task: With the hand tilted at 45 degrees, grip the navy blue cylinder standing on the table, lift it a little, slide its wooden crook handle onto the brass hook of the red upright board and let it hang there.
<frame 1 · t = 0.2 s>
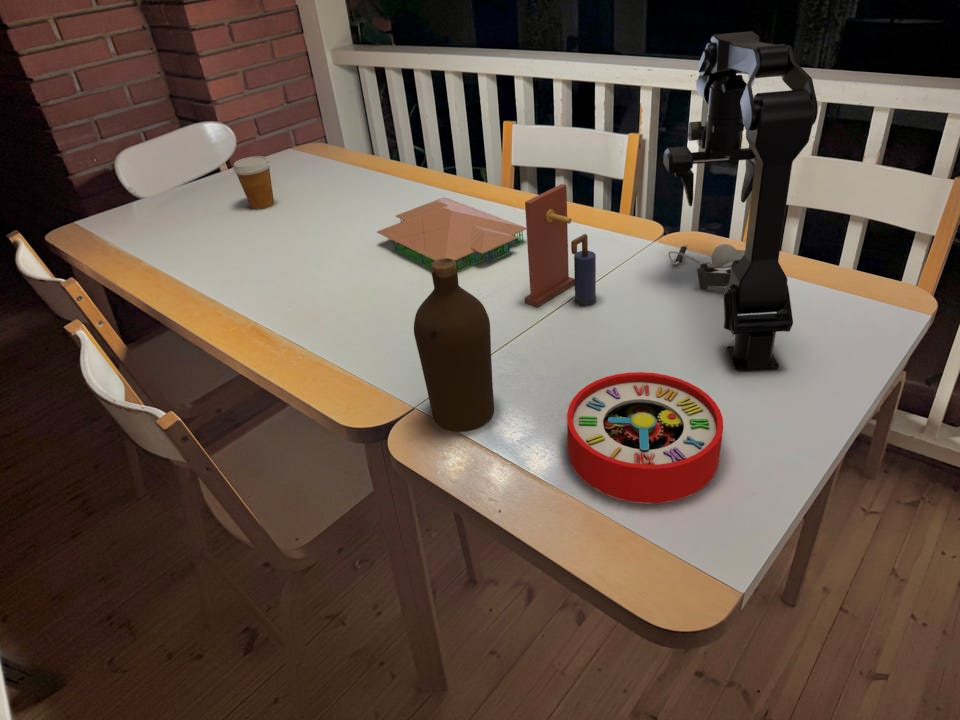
hand: (716, 203, 124), 15 cm above the table, tool pointing down, fingers open, 9 cm apart
glass of beer: (262, 205, 189), on the table
house: (449, 243, 157), on the table
toy clock: (641, 450, 94), on the table
olive oil: (463, 413, 105), on the table
clip-on lamp: (708, 275, 133), on the table
navy blue cylinder: (585, 300, 129), on the table
red upright board: (550, 293, 133), on the table
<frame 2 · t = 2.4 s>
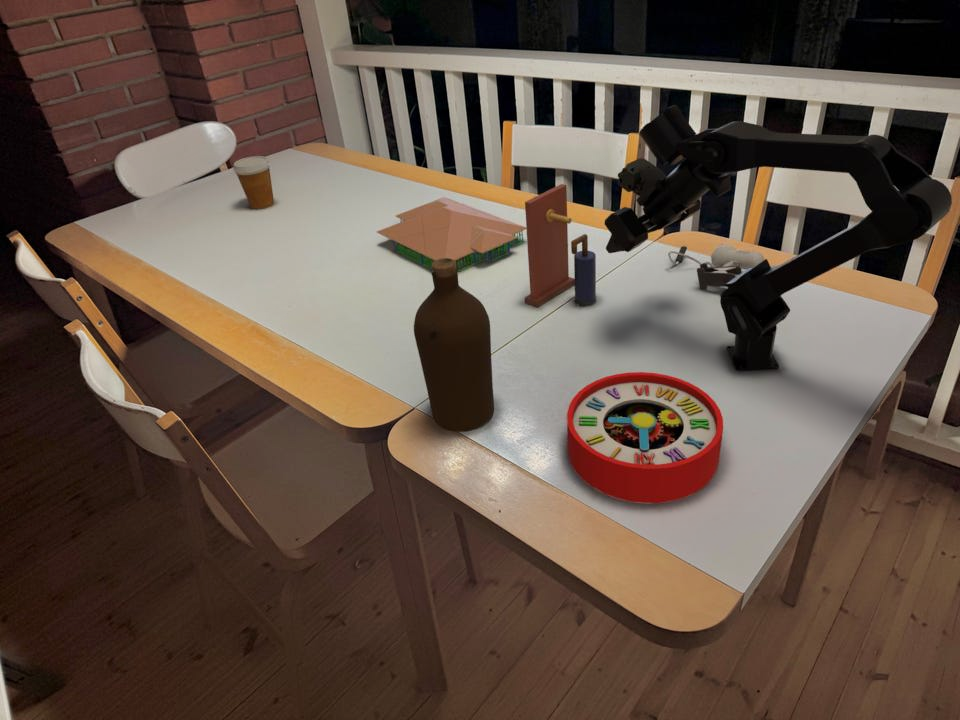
hand: (625, 241, 118), 13 cm above the table, tool tilted 40°, fingers open, 9 cm apart
nothing on the table moved.
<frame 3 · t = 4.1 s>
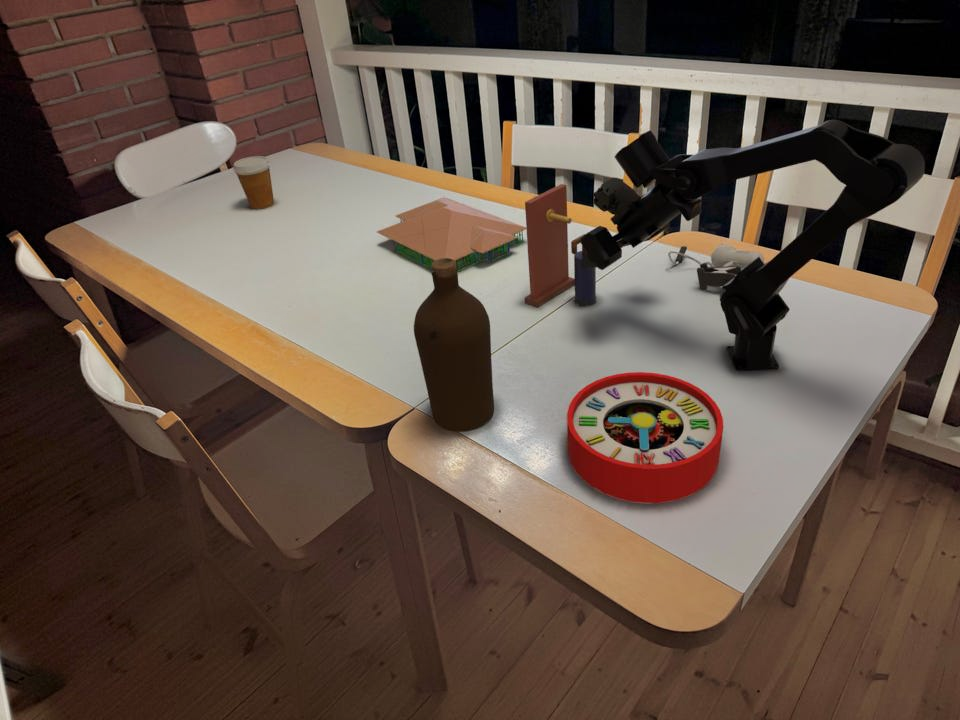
hand: (597, 255, 122), 10 cm above the table, tool tilted 45°, fingers open, 9 cm apart
nothing on the table moved.
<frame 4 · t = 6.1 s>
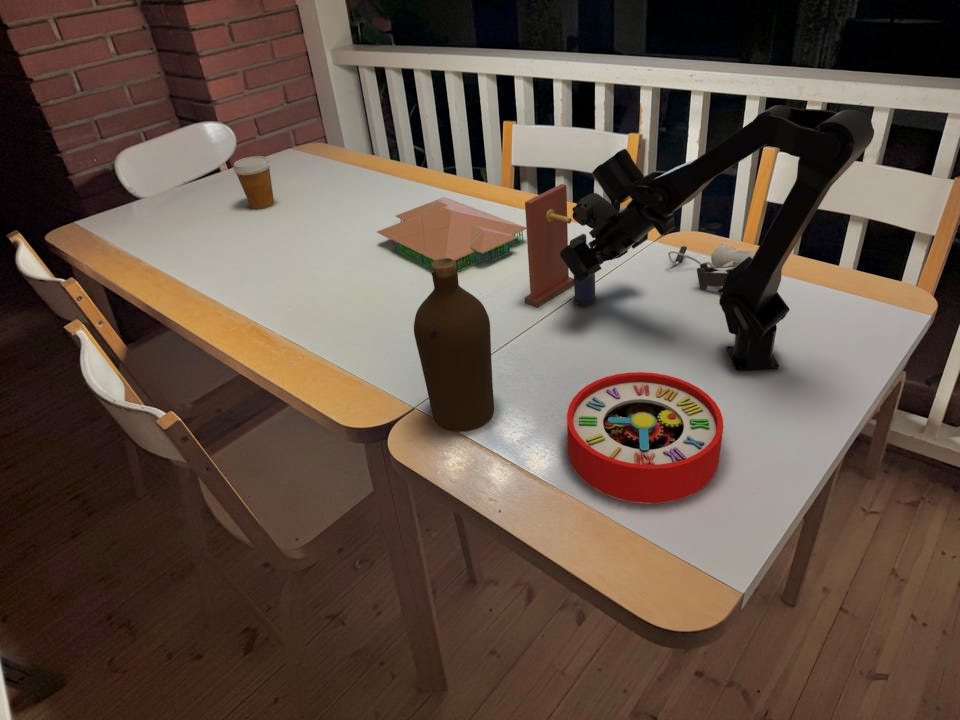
hand: (578, 267, 126), 7 cm above the table, tool tilted 45°, fingers closed on navy blue cylinder, 4 cm apart
navy blue cylinder: (585, 300, 129), on the table, touching gripper
everything else where it was.
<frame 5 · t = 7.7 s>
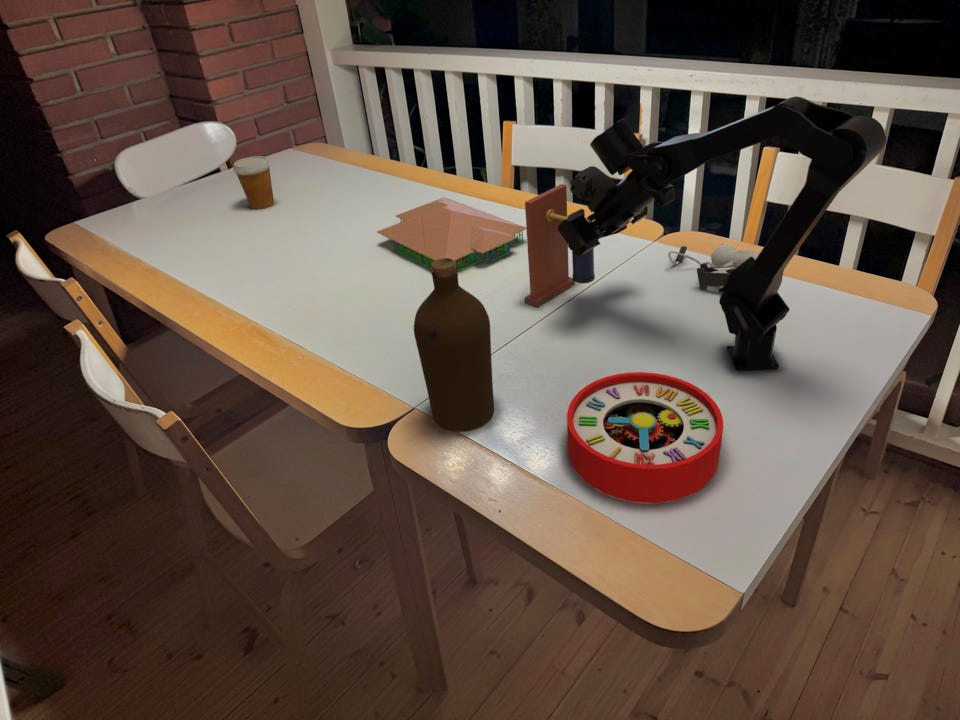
hand: (577, 243, 124), 11 cm above the table, tool tilted 45°, fingers closed on navy blue cylinder, 4 cm apart
navy blue cylinder: (583, 278, 127), point 5 cm above the table, touching gripper
everything else where it was.
when the fingers open (11 cm above the table, at t = 9.4 s): navy blue cylinder moves 3 cm, resting on red upright board.
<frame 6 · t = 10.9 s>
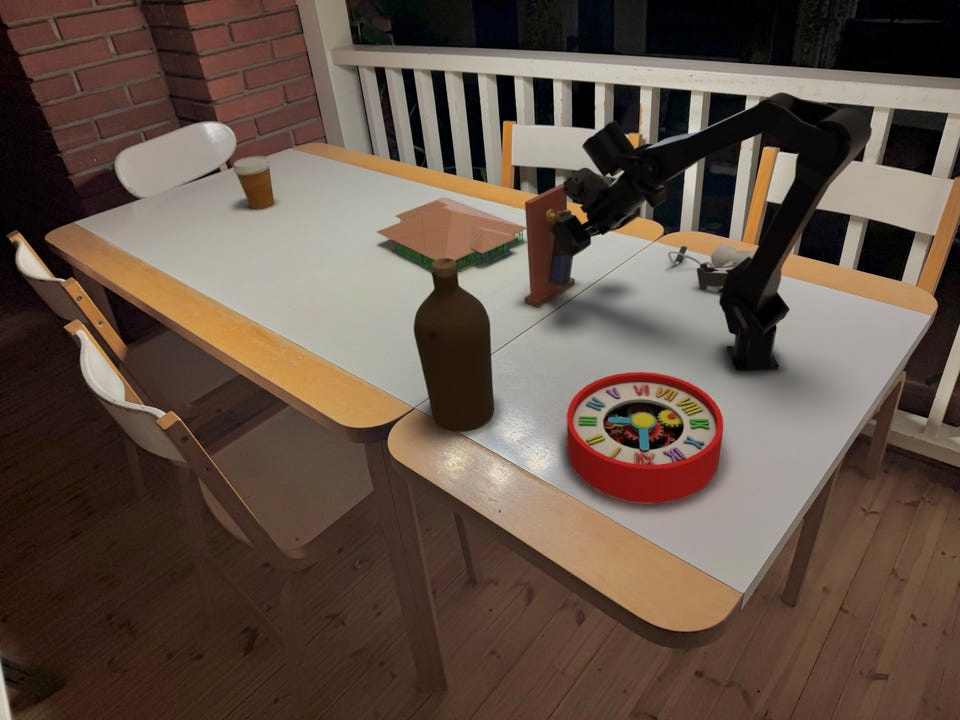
hand: (570, 244, 125), 11 cm above the table, tool tilted 45°, fingers open, 9 cm apart
navy blue cylinder: (558, 282, 127), point 4 cm above the table, tilted 14°, touching red upright board
everything else where it was.
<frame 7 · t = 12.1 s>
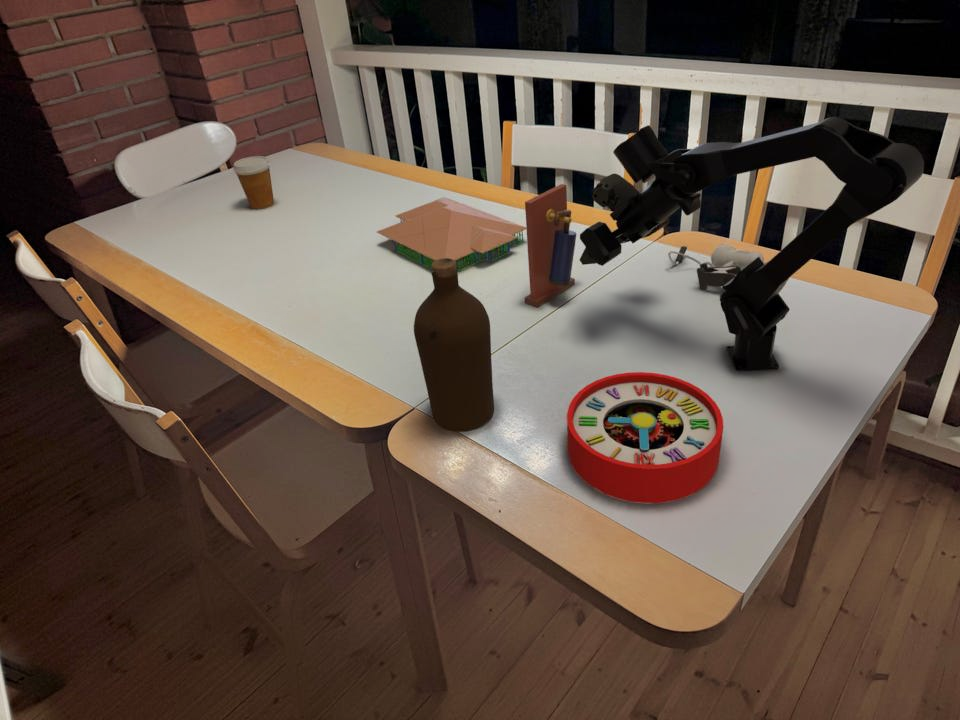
hand: (597, 252, 121), 11 cm above the table, tool tilted 45°, fingers open, 9 cm apart
nothing on the table moved.
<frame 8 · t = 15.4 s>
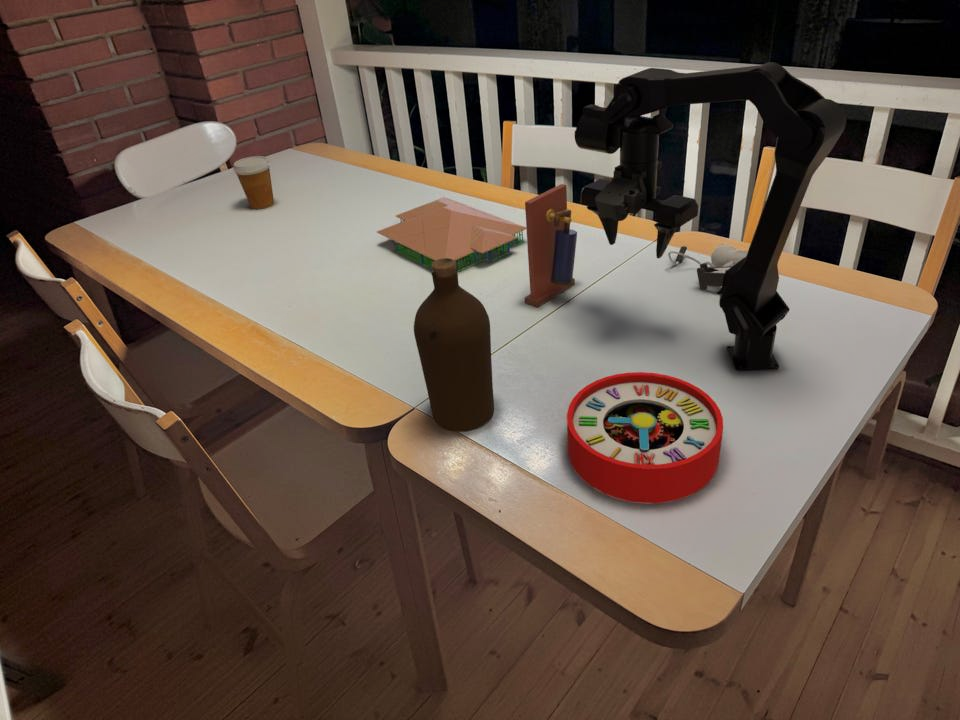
hand: (635, 250, 115), 13 cm above the table, tool pointing down, fingers open, 9 cm apart
nothing on the table moved.
at the end: navy blue cylinder touching red upright board; the gripper is holding nothing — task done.
